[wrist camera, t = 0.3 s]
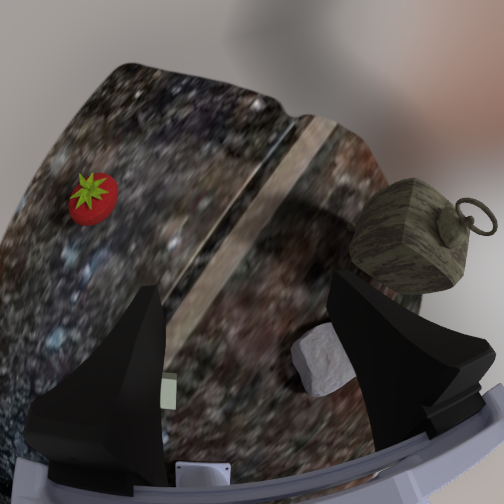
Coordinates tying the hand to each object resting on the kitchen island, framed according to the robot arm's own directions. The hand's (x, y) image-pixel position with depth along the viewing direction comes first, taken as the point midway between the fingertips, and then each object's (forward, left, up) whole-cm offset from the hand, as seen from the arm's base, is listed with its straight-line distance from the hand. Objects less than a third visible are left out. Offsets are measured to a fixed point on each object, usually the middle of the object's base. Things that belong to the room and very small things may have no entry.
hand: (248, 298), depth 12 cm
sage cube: (-11, +5, -29) cm, 31 cm away
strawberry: (+12, +16, -29) cm, 35 cm away
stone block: (-6, -19, -29) cm, 35 cm away
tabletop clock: (+10, -26, -29) cm, 40 cm away
